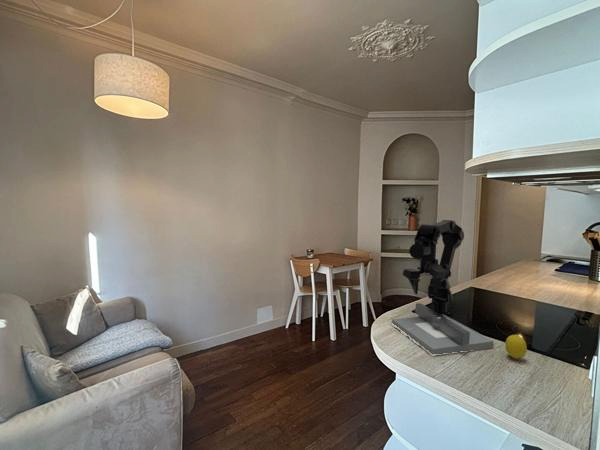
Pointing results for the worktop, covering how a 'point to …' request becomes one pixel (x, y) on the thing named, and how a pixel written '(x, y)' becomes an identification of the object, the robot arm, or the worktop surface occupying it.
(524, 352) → the lemon
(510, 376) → the worktop surface
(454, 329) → the dark grey bar
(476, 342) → the cover plate
